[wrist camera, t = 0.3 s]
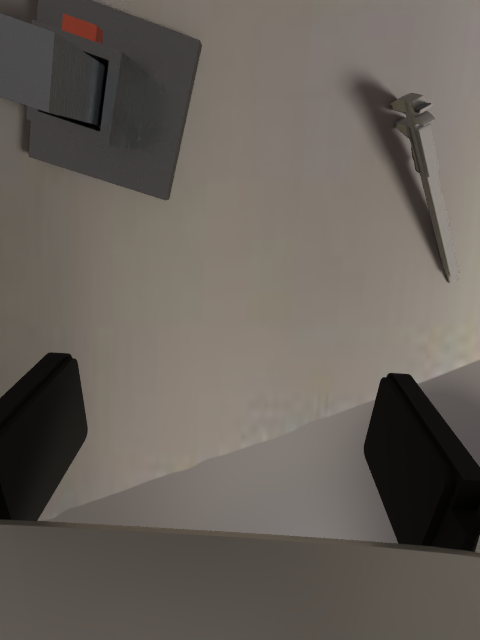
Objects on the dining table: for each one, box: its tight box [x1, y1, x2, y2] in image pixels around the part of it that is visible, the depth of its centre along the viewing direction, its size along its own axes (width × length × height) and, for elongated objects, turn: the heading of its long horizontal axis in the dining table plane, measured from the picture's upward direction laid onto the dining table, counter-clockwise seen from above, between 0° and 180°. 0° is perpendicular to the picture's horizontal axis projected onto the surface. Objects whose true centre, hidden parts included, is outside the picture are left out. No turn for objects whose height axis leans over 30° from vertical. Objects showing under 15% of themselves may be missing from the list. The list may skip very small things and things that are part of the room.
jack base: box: [26, 0, 202, 200], centre depth 31 cm, size 14×14×9 cm
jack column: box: [0, 13, 108, 126], centre depth 26 cm, size 4×4×14 cm
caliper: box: [389, 93, 459, 283], centre depth 35 cm, size 20×1×6 cm, turn 29°
